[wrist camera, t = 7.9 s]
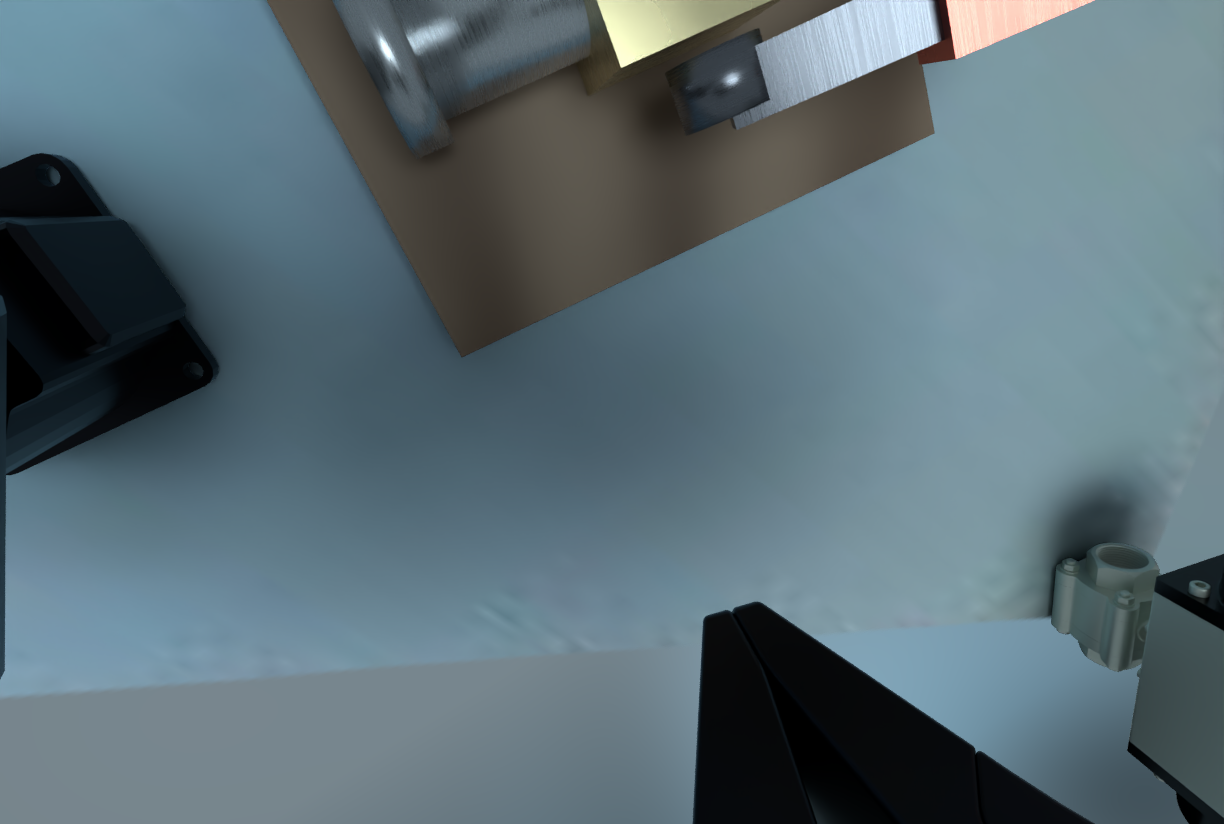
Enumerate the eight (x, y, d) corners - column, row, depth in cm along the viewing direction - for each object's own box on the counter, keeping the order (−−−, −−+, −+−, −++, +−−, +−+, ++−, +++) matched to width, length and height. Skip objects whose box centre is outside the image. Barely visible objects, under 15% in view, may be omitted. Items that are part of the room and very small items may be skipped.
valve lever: (696, 169, 14) (1258, -70, 11) (661, 66, 13) (1260, -221, 10) (694, 161, 16) (1172, -44, 13) (664, 71, 15) (1168, -169, 12)
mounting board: (462, 348, 19) (461, 357, 18) (245, -51, 15) (227, -72, 14) (908, 137, 20) (934, 133, 19) (823, -294, 16) (849, -331, 15)
